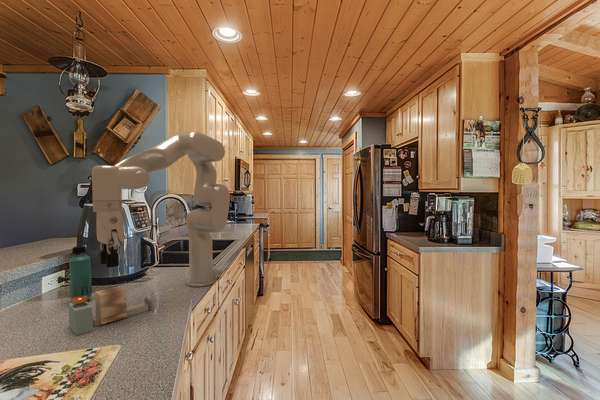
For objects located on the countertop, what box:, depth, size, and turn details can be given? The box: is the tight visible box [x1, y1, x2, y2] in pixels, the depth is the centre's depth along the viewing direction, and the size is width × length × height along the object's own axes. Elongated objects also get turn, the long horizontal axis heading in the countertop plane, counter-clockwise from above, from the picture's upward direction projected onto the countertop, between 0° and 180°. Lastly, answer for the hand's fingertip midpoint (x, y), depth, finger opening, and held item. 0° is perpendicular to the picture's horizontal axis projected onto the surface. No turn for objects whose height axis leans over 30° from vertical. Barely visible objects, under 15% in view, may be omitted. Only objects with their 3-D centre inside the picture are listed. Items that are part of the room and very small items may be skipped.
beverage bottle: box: [68, 245, 93, 301], centre depth 108 cm, size 6×7×20 cm
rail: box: [92, 297, 153, 328], centre depth 96 cm, size 16×4×3 cm, turn 138°
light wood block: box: [94, 285, 128, 326], centre depth 94 cm, size 7×5×9 cm
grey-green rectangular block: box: [68, 301, 94, 337], centre depth 88 cm, size 4×8×7 cm, turn 48°
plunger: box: [71, 295, 89, 308], centre depth 88 cm, size 4×4×6 cm
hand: (109, 264), depth 93 cm, fingers open, 4 cm apart
